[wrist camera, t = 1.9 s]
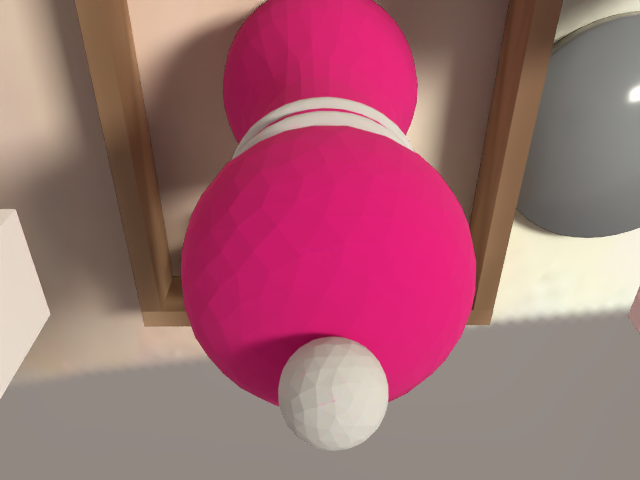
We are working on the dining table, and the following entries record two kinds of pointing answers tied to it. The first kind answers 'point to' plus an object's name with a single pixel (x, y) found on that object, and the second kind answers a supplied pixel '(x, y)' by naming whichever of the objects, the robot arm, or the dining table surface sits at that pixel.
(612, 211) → the coaster
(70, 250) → the dining table surface
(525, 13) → the frame
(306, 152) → the pepper mill
